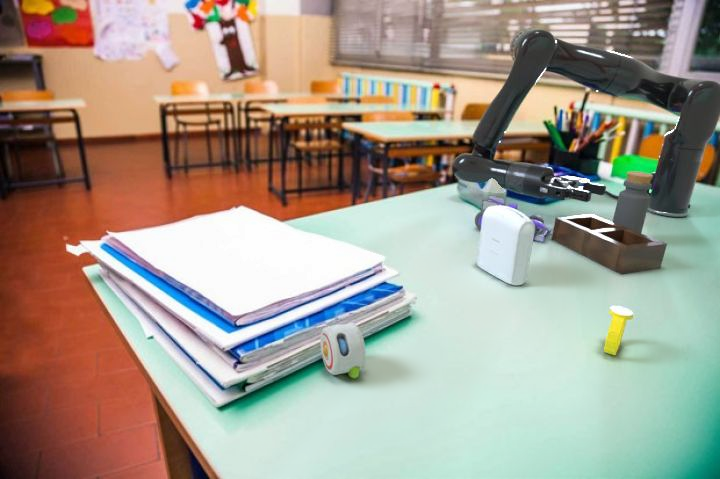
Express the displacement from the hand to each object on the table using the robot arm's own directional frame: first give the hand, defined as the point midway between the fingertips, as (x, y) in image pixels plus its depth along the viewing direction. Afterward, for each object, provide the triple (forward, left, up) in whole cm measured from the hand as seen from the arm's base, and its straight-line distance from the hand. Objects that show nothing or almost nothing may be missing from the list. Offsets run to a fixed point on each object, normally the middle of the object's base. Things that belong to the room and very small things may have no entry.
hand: (597, 193), depth 108 cm
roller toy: (+32, -70, -9) cm, 77 cm away
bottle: (+7, +3, -9) cm, 12 cm away
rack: (+11, -7, -9) cm, 16 cm away
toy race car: (-5, -17, -9) cm, 20 cm away
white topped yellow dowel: (+39, -34, -9) cm, 52 cm away
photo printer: (+14, -34, -9) cm, 38 cm away
